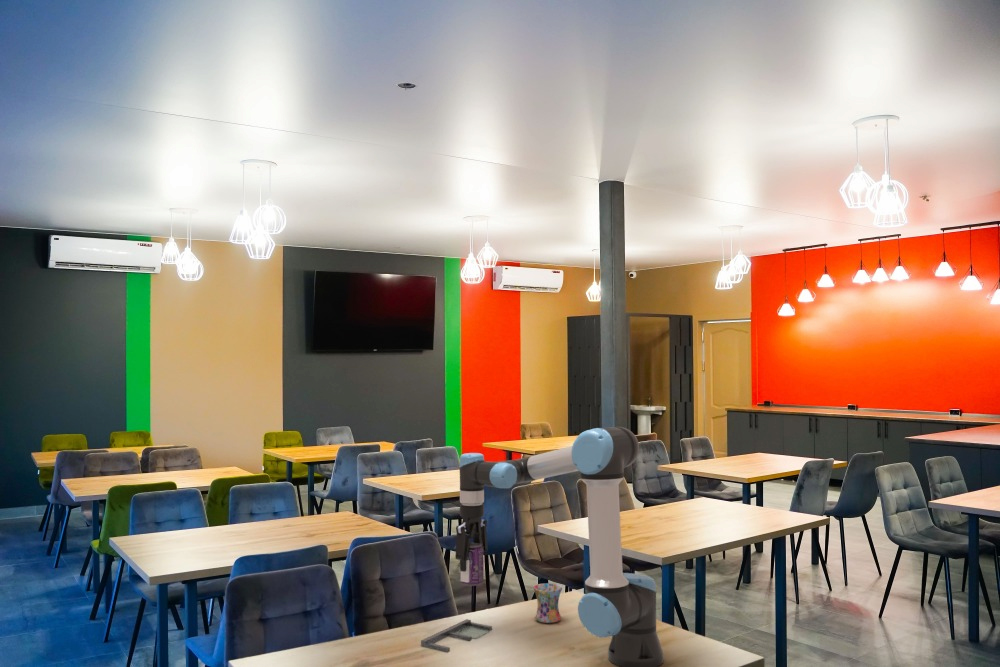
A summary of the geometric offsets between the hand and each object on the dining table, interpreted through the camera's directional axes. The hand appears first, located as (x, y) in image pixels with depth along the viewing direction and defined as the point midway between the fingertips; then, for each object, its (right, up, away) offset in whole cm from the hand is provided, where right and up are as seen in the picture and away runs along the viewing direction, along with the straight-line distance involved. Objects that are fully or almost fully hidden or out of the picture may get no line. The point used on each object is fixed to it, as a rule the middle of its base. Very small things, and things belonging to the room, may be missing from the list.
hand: (471, 578), depth 236 cm
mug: (+24, -17, +13) cm, 32 cm away
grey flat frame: (-4, -16, -5) cm, 17 cm away
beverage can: (0, -2, 0) cm, 2 cm away
